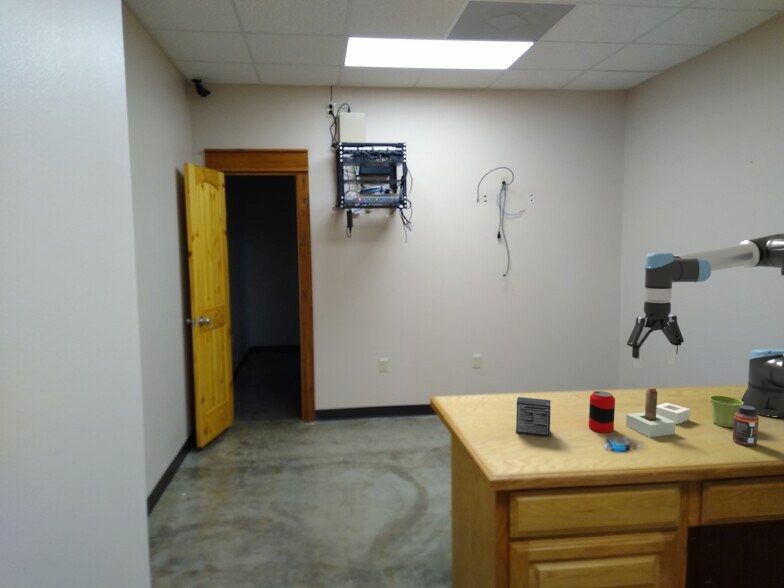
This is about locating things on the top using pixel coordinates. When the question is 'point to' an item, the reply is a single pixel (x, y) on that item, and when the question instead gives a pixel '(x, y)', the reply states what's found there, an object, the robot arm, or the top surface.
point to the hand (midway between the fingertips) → (654, 366)
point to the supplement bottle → (745, 426)
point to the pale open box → (650, 425)
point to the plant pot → (724, 409)
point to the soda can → (601, 412)
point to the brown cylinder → (651, 404)
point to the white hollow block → (673, 412)
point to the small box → (533, 416)
